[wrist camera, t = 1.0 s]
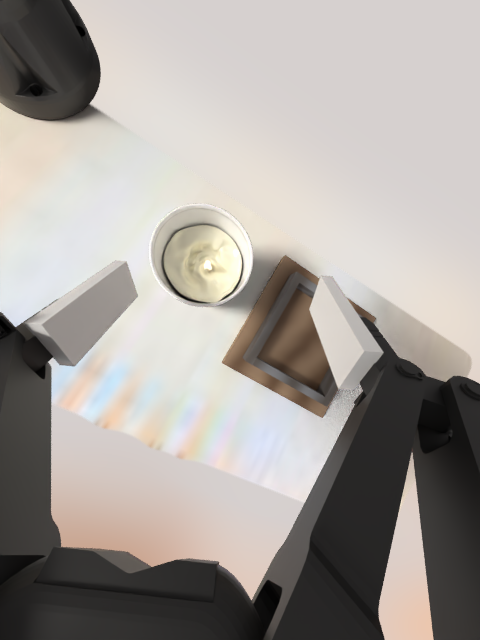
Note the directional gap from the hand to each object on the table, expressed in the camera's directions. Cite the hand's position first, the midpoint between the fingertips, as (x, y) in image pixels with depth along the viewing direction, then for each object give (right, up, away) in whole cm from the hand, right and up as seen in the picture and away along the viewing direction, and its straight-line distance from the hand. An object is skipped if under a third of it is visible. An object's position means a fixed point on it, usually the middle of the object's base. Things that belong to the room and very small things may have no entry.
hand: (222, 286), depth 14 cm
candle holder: (-4, +4, +17) cm, 18 cm away
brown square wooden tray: (+12, -6, +20) cm, 23 cm away
